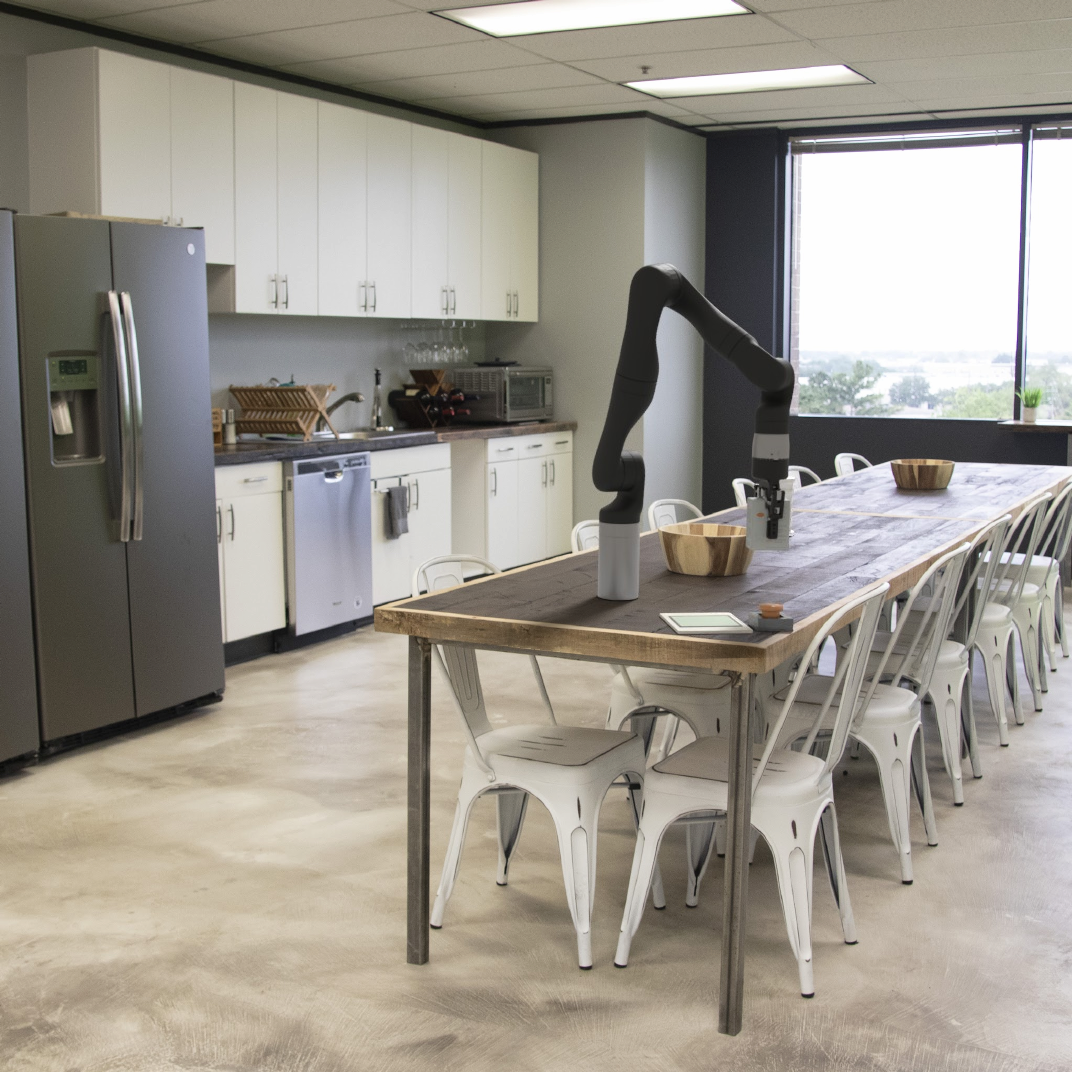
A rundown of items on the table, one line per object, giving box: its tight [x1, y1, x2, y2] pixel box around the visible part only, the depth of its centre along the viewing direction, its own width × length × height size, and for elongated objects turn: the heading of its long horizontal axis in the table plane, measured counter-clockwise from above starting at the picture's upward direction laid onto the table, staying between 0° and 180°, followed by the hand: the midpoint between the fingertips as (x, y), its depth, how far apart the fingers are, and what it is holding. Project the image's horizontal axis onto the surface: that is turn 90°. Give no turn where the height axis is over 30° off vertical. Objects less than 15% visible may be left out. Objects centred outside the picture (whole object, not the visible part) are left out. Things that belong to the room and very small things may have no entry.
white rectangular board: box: [659, 612, 754, 635], centre depth 259 cm, size 18×15×1 cm
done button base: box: [747, 611, 794, 632], centre depth 257 cm, size 7×7×2 cm
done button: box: [758, 602, 784, 618], centre depth 256 cm, size 5×5×3 cm
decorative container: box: [779, 476, 796, 534], centre depth 396 cm, size 12×12×18 cm
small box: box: [745, 496, 790, 551], centre depth 264 cm, size 8×6×10 cm
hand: (767, 536), depth 264 cm, fingers closed on small box, 5 cm apart
